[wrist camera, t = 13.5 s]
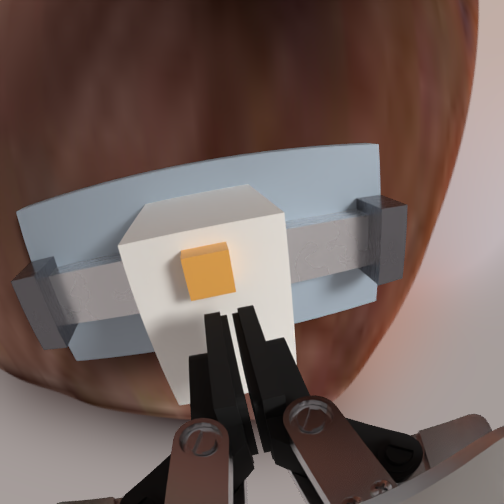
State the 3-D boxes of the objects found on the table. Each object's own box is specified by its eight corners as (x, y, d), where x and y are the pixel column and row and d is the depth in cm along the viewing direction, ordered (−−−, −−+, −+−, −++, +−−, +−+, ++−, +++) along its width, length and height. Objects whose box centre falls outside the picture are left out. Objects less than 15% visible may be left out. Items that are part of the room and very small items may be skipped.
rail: (380, 194, 19) (407, 204, 16) (378, 261, 21) (402, 278, 18) (31, 261, 16) (10, 281, 13) (57, 324, 17) (43, 349, 15)
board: (366, 143, 19) (378, 144, 17) (366, 292, 23) (375, 300, 22) (26, 206, 16) (16, 211, 14) (81, 349, 20) (76, 361, 19)
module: (248, 184, 17) (291, 218, 10) (265, 308, 20) (302, 391, 13) (145, 204, 16) (112, 254, 9) (178, 326, 19) (179, 417, 12)
